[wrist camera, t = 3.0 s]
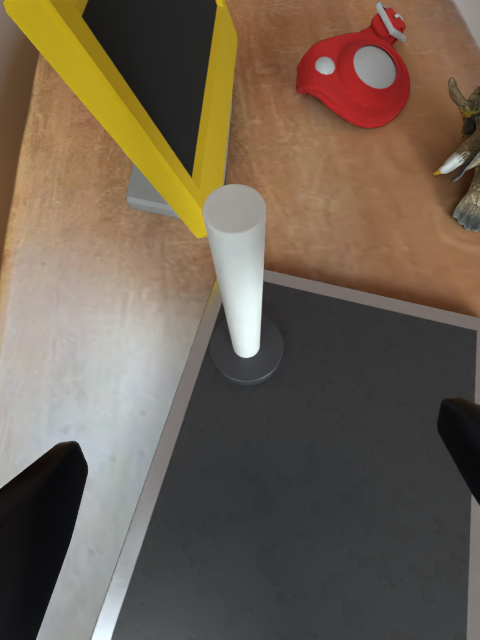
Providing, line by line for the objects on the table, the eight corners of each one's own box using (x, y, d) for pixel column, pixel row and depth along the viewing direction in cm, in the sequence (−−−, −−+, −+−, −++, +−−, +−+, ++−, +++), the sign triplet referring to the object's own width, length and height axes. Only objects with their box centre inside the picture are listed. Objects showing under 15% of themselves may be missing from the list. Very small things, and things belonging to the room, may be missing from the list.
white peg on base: (272, 394, 19) (303, 307, 7) (202, 374, 20) (118, 263, 8) (289, 327, 21) (338, 157, 8) (223, 310, 21) (180, 130, 9)
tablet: (471, 857, 13) (486, 886, 12) (78, 683, 16) (68, 697, 15) (484, 324, 21) (494, 319, 20) (222, 264, 24) (221, 258, 23)
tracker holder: (425, 121, 26) (309, 96, 24) (390, 154, 31) (289, 135, 29) (422, -8, 28) (313, -41, 26) (389, 41, 32) (293, 16, 30)
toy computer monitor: (222, 263, 24) (169, -33, 9) (118, 260, 24) (-96, -25, 9) (239, 80, 31) (225, -254, 16) (158, 80, 31) (72, -243, 16)
